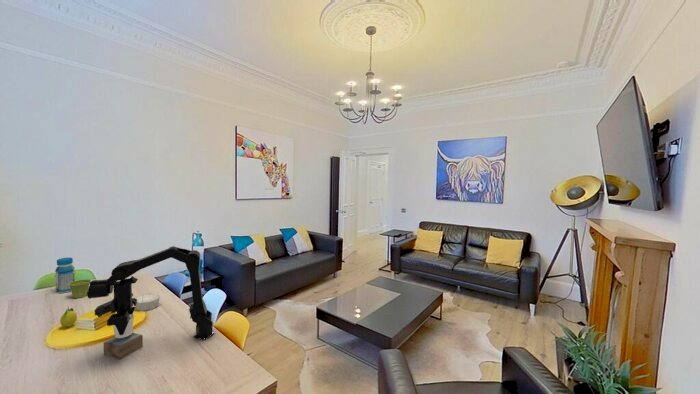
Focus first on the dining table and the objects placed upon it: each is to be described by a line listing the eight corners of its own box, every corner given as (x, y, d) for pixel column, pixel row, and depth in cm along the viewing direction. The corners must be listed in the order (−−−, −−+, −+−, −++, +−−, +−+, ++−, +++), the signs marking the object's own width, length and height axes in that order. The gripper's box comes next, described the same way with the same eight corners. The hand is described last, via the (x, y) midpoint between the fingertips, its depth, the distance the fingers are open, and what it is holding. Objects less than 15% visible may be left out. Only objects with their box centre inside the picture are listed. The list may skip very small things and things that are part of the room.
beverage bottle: (65, 294, 164) (64, 261, 163) (51, 293, 164) (50, 260, 163) (79, 288, 172) (78, 257, 171) (66, 287, 172) (65, 256, 171)
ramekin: (130, 309, 148) (129, 299, 148) (151, 301, 159) (151, 292, 158) (143, 313, 144) (143, 304, 144) (164, 305, 155) (164, 296, 154)
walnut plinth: (142, 346, 117) (142, 334, 117) (119, 359, 108) (119, 346, 108) (127, 342, 119) (127, 330, 119) (103, 354, 111) (103, 341, 110)
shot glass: (121, 340, 109) (121, 323, 109) (108, 337, 111) (107, 321, 110) (138, 331, 116) (138, 315, 116) (125, 328, 117) (124, 313, 117)
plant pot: (93, 295, 163) (93, 281, 162) (71, 301, 155) (71, 286, 154) (88, 291, 168) (88, 278, 167) (66, 297, 160) (66, 282, 159)
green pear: (65, 331, 126) (64, 310, 125) (55, 329, 127) (54, 308, 126) (82, 324, 132) (81, 303, 132) (72, 322, 134) (72, 302, 133)
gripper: (104, 289, 117) (105, 324, 118) (88, 307, 100) (89, 348, 101) (137, 285, 122) (137, 318, 123) (126, 302, 106) (127, 341, 107)
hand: (123, 330), depth 113 cm, fingers closed on shot glass, 6 cm apart
